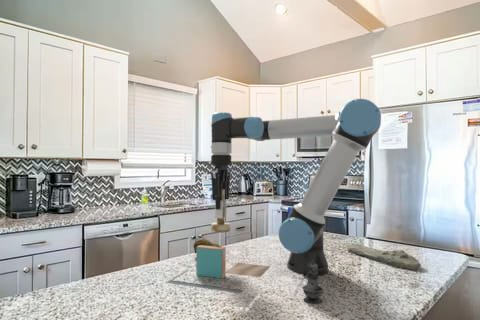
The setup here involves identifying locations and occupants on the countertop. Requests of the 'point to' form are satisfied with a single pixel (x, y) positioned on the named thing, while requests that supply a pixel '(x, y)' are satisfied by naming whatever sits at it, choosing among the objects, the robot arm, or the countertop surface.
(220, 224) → the masher
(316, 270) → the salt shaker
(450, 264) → the countertop surface
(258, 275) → the board
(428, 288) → the countertop surface
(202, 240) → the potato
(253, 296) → the countertop surface
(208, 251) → the tile
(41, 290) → the countertop surface
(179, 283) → the mat
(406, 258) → the elongated rock
